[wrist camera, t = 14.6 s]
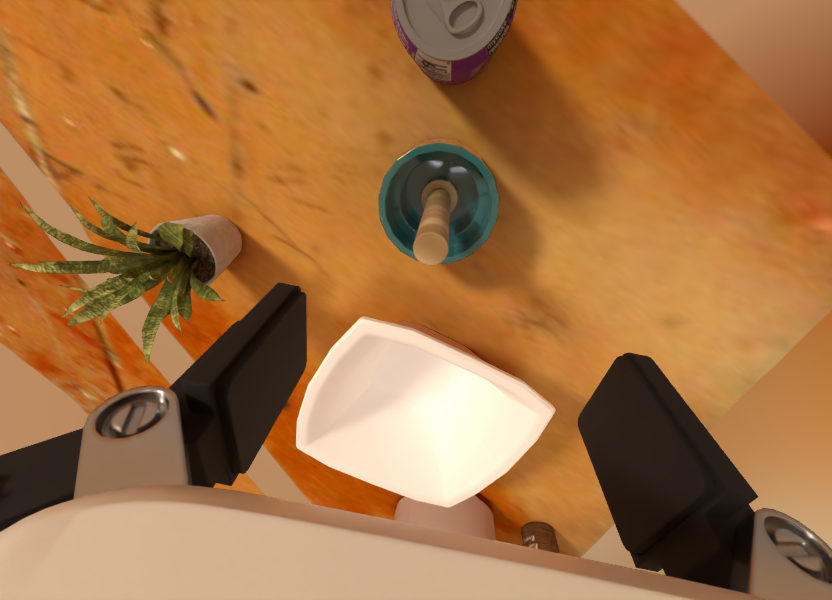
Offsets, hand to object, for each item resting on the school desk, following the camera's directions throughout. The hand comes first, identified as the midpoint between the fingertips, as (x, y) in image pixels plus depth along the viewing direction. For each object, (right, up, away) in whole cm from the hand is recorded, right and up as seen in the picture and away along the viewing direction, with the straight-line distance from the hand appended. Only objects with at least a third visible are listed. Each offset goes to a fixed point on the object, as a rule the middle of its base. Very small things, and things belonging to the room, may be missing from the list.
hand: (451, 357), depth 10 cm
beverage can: (+2, +24, +17) cm, 29 cm away
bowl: (0, -7, +35) cm, 36 cm away
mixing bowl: (+1, +13, +23) cm, 27 cm away
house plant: (-23, +10, +28) cm, 38 cm away
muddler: (+1, +12, +23) cm, 26 cm away
